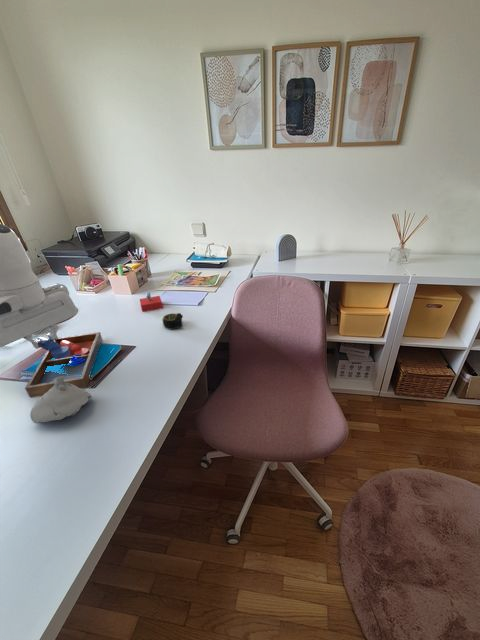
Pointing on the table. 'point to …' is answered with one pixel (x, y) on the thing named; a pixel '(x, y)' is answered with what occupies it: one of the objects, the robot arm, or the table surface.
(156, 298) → the red rectangular block
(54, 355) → the blue elongated piece
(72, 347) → the red spoon
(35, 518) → the table surface
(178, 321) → the tape measure
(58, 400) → the grey clay mound
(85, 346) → the sorting tray
